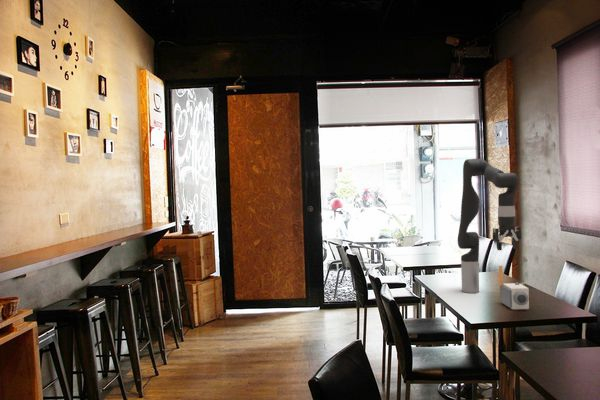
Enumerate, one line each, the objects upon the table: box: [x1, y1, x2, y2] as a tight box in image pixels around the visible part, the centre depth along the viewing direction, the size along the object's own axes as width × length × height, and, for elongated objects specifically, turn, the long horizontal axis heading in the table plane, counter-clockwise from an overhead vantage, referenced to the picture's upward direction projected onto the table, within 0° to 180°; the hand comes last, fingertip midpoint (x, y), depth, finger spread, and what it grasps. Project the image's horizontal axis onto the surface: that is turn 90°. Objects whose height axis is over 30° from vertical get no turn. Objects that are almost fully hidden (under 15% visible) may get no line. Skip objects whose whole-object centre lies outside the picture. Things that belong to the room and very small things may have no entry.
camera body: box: [503, 281, 530, 310], centre depth 244 cm, size 14×8×11 cm, turn 177°
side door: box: [498, 265, 512, 309], centre depth 245 cm, size 13×1×18 cm, turn 177°
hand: (507, 249), depth 236 cm, fingers open, 8 cm apart
